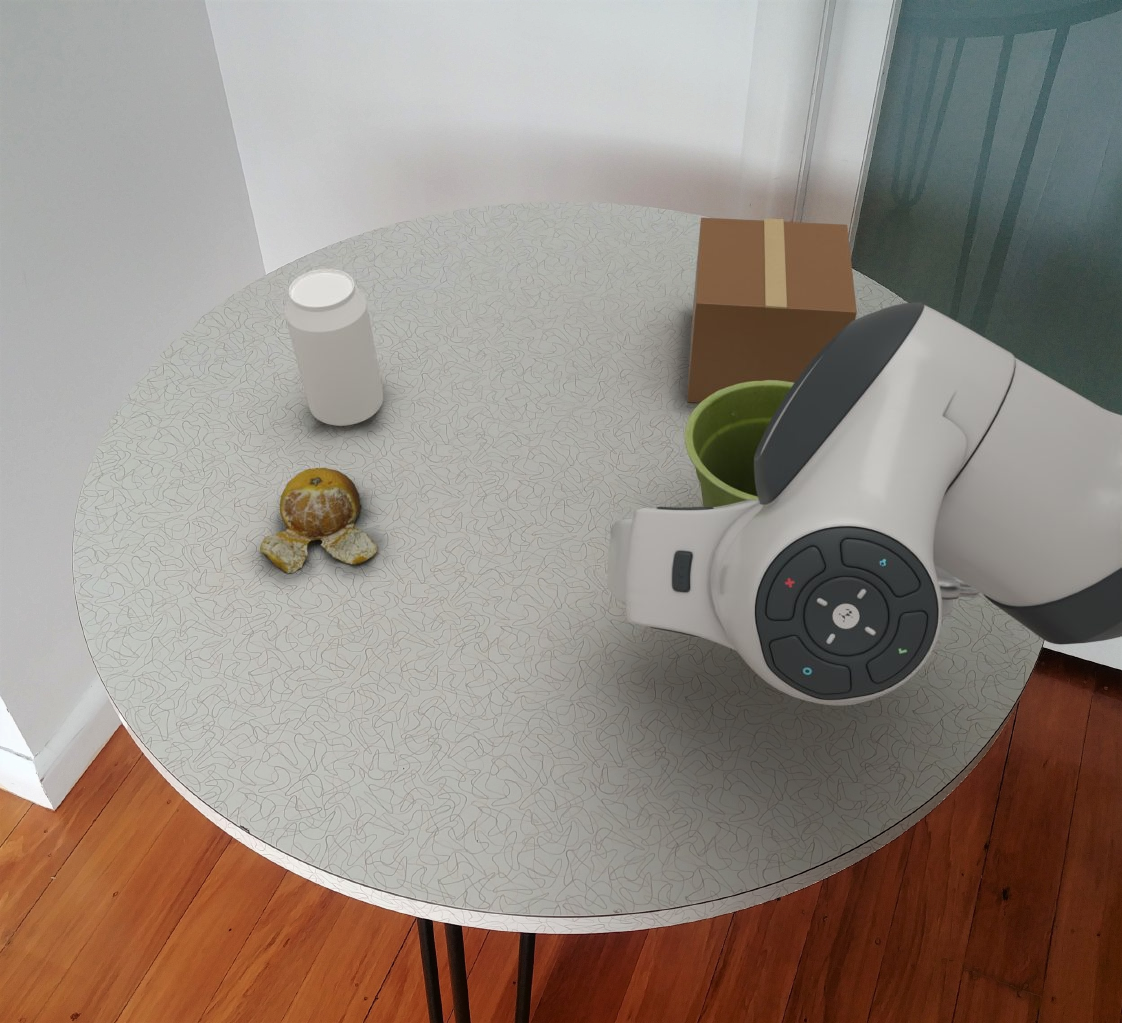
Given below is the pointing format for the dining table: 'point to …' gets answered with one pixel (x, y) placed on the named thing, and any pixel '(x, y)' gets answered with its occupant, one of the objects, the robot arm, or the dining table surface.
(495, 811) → the dining table surface
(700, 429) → the plant pot
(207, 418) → the dining table surface
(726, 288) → the carton
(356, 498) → the fruit
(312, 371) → the beverage can
